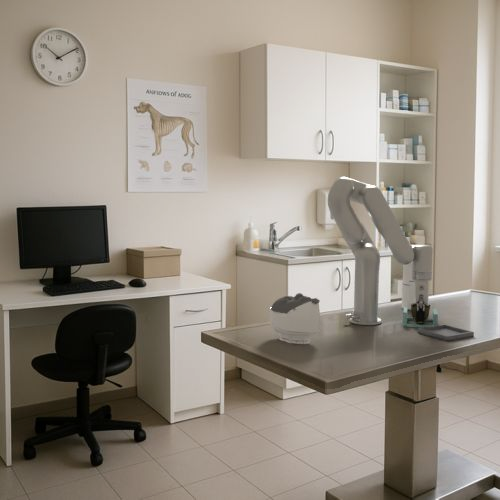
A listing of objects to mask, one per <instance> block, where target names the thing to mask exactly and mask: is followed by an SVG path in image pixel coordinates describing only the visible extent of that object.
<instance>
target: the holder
mask: <svg viewBox="0 0 500 500" xmlns="http://www.w3.org/2000/svg"><path fill="white" fill-rule="evenodd" d="M408 310H409V309H408V307H404V308H403V311H402V313H403V314H402V327H407V328H423V327H429V326H435V325H438V317H439V314H438V308H432V318H427V319H426V320H425V322H429V323H430V322H431V323H432V325H429V324H428V325H427V324H423V325H418V324H416V323H414V324H413V323H408V321H414V322H415V321H416V320H415V319H414V318H413V317H408Z"/></svg>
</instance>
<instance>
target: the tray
mask: <svg viewBox="0 0 500 500" xmlns="http://www.w3.org/2000/svg"><path fill="white" fill-rule="evenodd" d="M417 333H418V334H422V335H423V336H428V337H430V338H434V339H437V340H440V341H444V342H450V341H457V340H463V339H467V338H473V337H474V335H475V332H474V331H473V330H468V329H465V328H461V327H457V326H453V325H450V324H446V323H442V324H437V325H435V326H433V325H432V326H429V327H423V328H420V327H417Z"/></svg>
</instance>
